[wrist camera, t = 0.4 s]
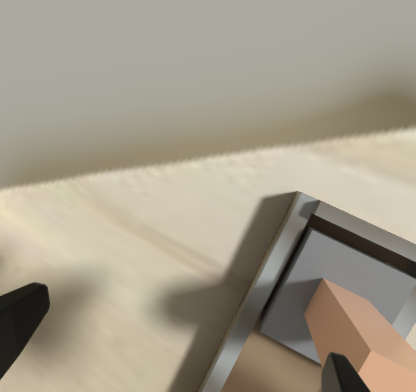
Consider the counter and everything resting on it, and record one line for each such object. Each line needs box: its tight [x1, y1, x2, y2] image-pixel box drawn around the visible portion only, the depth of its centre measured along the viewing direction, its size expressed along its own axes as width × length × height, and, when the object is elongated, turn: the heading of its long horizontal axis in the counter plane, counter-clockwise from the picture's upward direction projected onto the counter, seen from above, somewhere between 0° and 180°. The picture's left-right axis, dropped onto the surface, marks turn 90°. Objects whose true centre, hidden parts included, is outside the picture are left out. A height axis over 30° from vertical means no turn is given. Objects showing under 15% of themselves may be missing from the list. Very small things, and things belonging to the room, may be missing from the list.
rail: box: [197, 191, 416, 392], centre depth 23 cm, size 21×10×4 cm, turn 155°
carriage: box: [260, 226, 416, 392], centre depth 17 cm, size 8×7×11 cm
